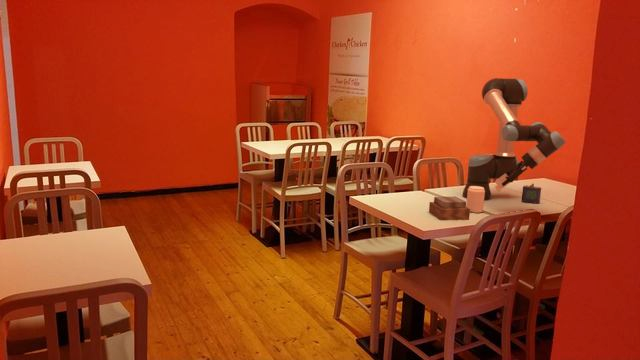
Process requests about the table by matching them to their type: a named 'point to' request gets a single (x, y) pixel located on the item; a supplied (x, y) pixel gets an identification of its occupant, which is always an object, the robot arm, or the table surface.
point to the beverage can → (475, 199)
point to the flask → (531, 194)
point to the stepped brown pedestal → (449, 208)
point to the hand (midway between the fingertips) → (496, 186)
